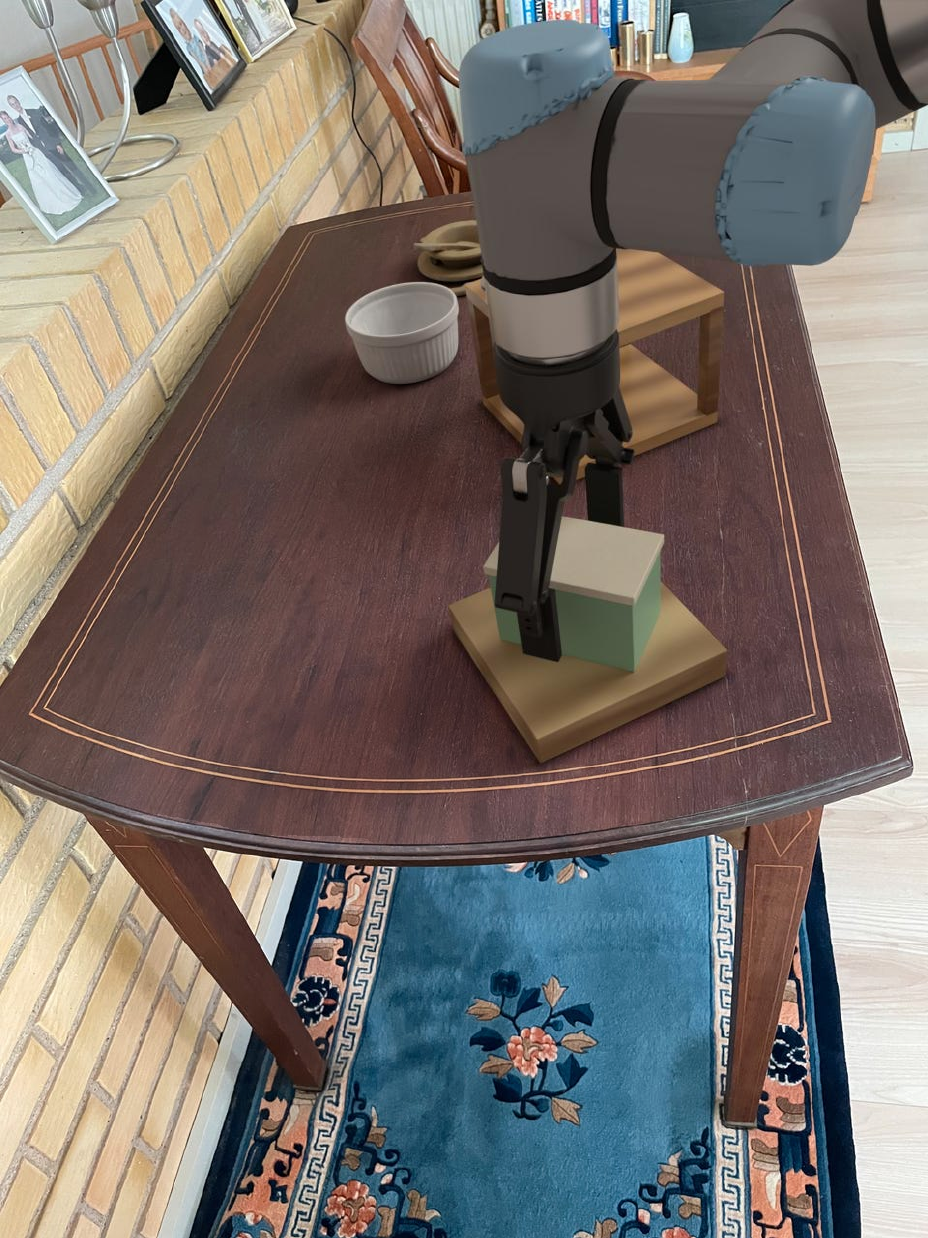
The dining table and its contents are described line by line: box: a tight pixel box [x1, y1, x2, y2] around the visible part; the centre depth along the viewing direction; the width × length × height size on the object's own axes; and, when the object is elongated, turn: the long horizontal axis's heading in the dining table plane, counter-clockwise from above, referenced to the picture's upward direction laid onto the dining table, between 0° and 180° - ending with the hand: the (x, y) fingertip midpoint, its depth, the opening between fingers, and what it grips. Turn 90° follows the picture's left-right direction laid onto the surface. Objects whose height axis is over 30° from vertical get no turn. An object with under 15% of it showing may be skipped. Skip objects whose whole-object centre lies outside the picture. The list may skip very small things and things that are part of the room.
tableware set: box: [412, 219, 484, 297], centre depth 125 cm, size 30×20×6 cm, turn 94°
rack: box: [464, 248, 725, 485], centre depth 92 cm, size 18×18×14 cm
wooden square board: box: [447, 581, 728, 764], centre depth 73 cm, size 16×16×3 cm
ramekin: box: [344, 281, 460, 385], centre depth 108 cm, size 13×13×7 cm
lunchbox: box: [482, 515, 665, 672], centre depth 69 cm, size 11×7×8 cm, turn 64°
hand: (576, 591), depth 69 cm, fingers open, 13 cm apart
